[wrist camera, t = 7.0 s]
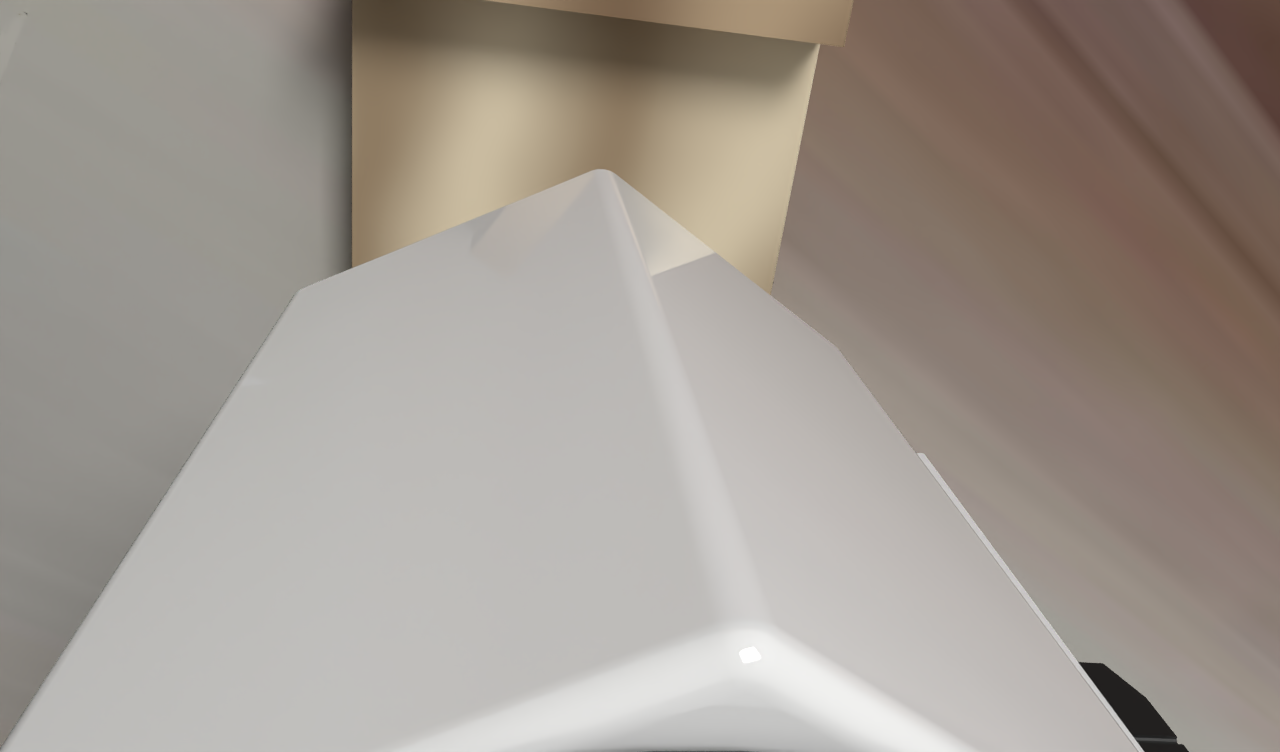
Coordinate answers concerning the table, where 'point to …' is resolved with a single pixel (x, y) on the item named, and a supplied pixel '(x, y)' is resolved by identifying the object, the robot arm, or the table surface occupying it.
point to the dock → (583, 111)
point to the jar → (557, 530)
